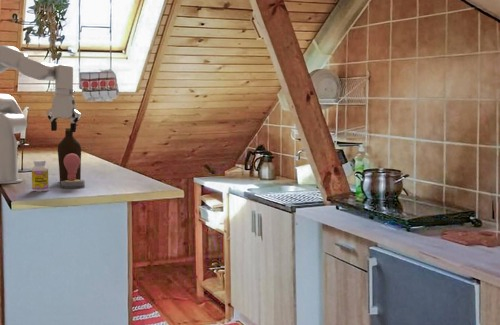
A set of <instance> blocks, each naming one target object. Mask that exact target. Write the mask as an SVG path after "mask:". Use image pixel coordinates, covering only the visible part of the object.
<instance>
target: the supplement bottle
mask: <svg viewBox="0 0 500 325" xmlns="http://www.w3.org/2000/svg"><path fill="white" fill-rule="evenodd" d="M46 163H47V162H46V160H44V159H36V160H34V161H33V164H34V166H33V167H31V189H32V192H35V191H36V193H38V192H39V193H41V192H42V191H43V192H47V191H49V168H48V166H46Z"/></svg>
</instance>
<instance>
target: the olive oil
mask: <svg viewBox="0 0 500 325" xmlns="http://www.w3.org/2000/svg"><path fill="white" fill-rule="evenodd" d="M64 133H65V134H64V137H63V138H62V140H60V142H59V143H58V146H57V159H58V172H59V182H60V183H61V181H64V180H69V179H68V178H67V175H68V173H67V172H68V171H67V169H66V167H65V165H64V158H65V156H66V155H68V154H71V153H73V154H76V155H78V157H79V158H80V165H79V167H78V169H77V173H76V180H82V178H81V174H82V173H81V170H82V165H81V164H82V163H81V162H82V146H81V143H80V142H79V140H77V139H76V137H74V135H73V134H74V132H70V127H66V128H65V132H64Z"/></svg>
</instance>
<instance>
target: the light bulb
mask: <svg viewBox="0 0 500 325" xmlns="http://www.w3.org/2000/svg"><path fill="white" fill-rule="evenodd" d="M64 165H65V167H66V169H67V171H68V172H67V173H68V175H67V178H68V179H69V180H74V179H76V173H77V169H78V167H79V165H80V158H79V157H78V155H76V154H73V153H71V154H68V155H66V156H65V158H64Z"/></svg>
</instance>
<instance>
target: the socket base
mask: <svg viewBox="0 0 500 325" xmlns="http://www.w3.org/2000/svg"><path fill="white" fill-rule="evenodd" d="M85 185H86V182H85V179H81V180H76V179H74V180H64V181H61V182H60V187H61V188H62V189H82V188H85Z"/></svg>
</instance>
